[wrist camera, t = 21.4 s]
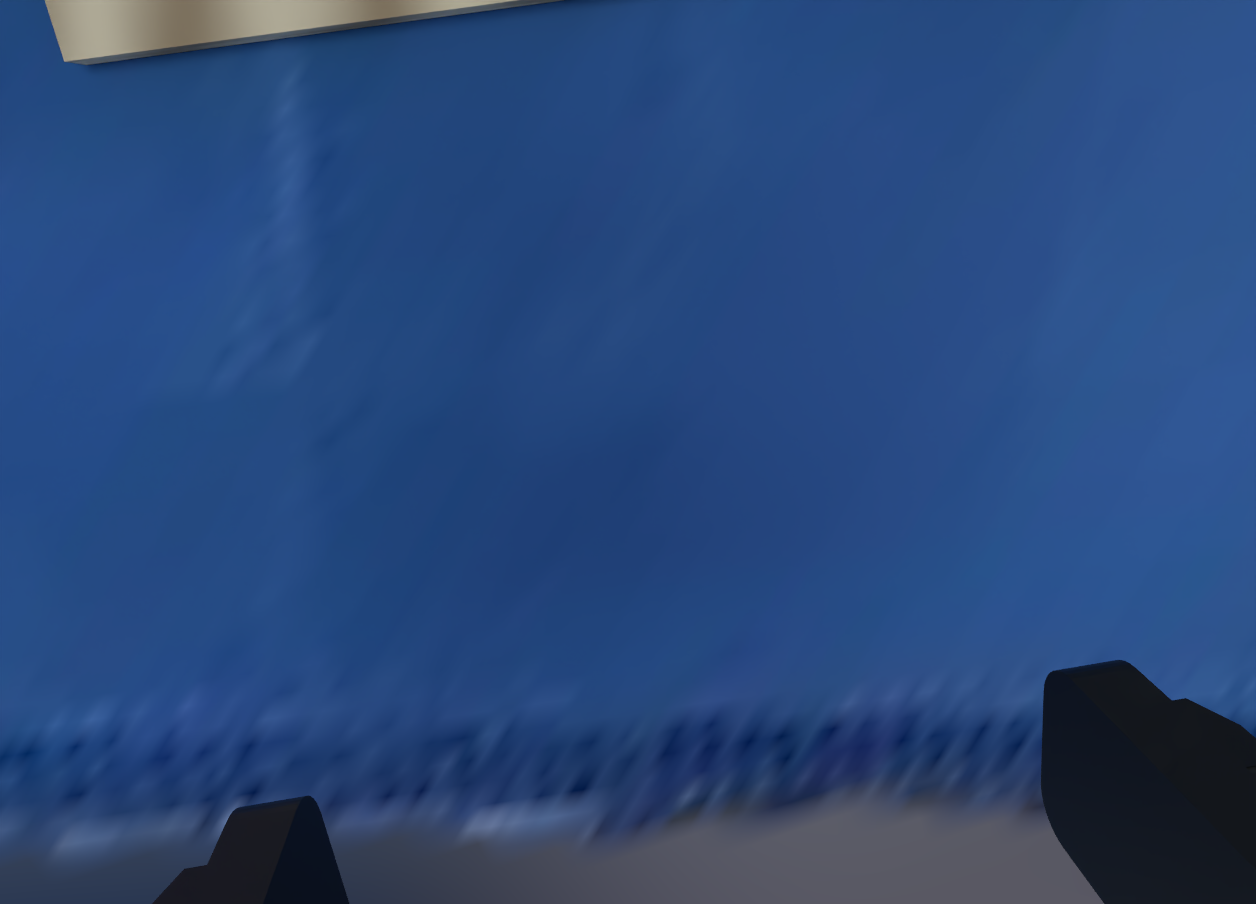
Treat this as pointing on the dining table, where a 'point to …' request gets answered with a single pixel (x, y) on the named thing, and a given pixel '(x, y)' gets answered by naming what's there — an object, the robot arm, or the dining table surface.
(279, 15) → the pine board
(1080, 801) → the robot arm
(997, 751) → the dining table surface
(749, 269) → the dining table surface
